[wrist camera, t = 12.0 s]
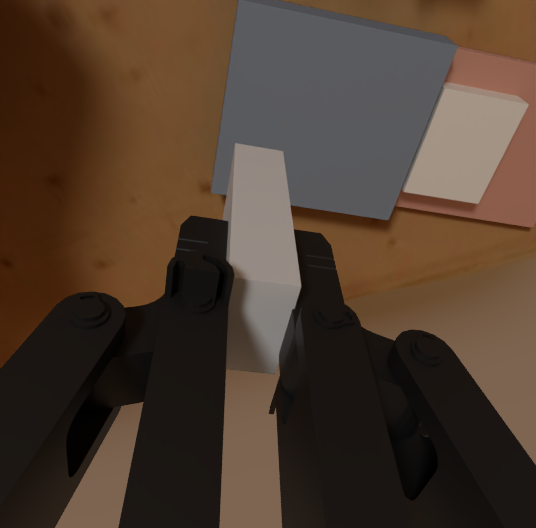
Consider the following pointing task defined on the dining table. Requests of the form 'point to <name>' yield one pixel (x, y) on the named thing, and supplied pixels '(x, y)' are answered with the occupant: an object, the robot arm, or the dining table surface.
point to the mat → (516, 155)
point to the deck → (330, 102)
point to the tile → (463, 142)
